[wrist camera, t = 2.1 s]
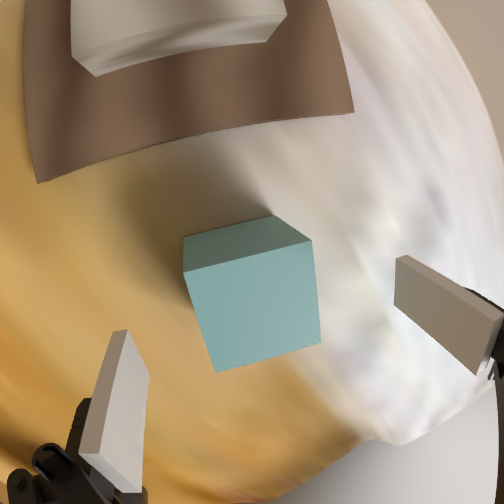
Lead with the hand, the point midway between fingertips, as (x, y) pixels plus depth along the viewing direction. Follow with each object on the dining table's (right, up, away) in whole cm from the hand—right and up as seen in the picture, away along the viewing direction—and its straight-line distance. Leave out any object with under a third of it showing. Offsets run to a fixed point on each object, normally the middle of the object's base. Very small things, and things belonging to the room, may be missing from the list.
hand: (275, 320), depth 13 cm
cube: (-2, +2, +7) cm, 7 cm away
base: (-6, +19, 0) cm, 20 cm away
